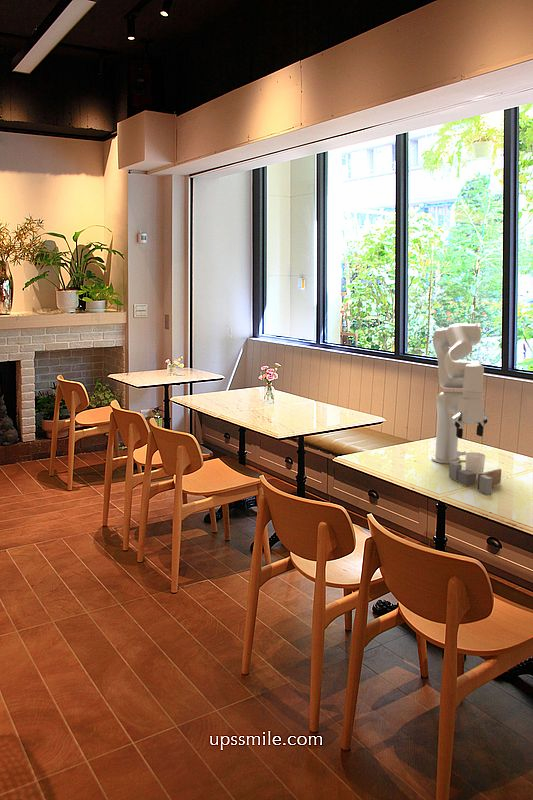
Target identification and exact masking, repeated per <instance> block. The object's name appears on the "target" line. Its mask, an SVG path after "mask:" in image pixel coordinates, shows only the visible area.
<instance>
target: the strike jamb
mask: <svg viewBox="0 0 533 800" xmlns="http://www.w3.org/2000/svg"><path fill="white" fill-rule="evenodd" d="M459 470H462V464H461V463H460V462H458V463H456V462H450V464H449V469H448V478H450V479H452V480H454V481H458V471H459Z"/></svg>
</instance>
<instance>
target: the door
mask: <svg viewBox="0 0 533 800" xmlns="http://www.w3.org/2000/svg"><path fill="white" fill-rule="evenodd" d="M481 475H486V476H488V477H491V478H492V487H493V486H497V485H501V482H502V481H501V480H502V468H497V469H493V470H492V469H491V470H489V471H486V472H485V471H484V472H483V473H479V474H478V480H477V483H476V484H477V487H476V489H477V491H479V482H480V476H481Z"/></svg>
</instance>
